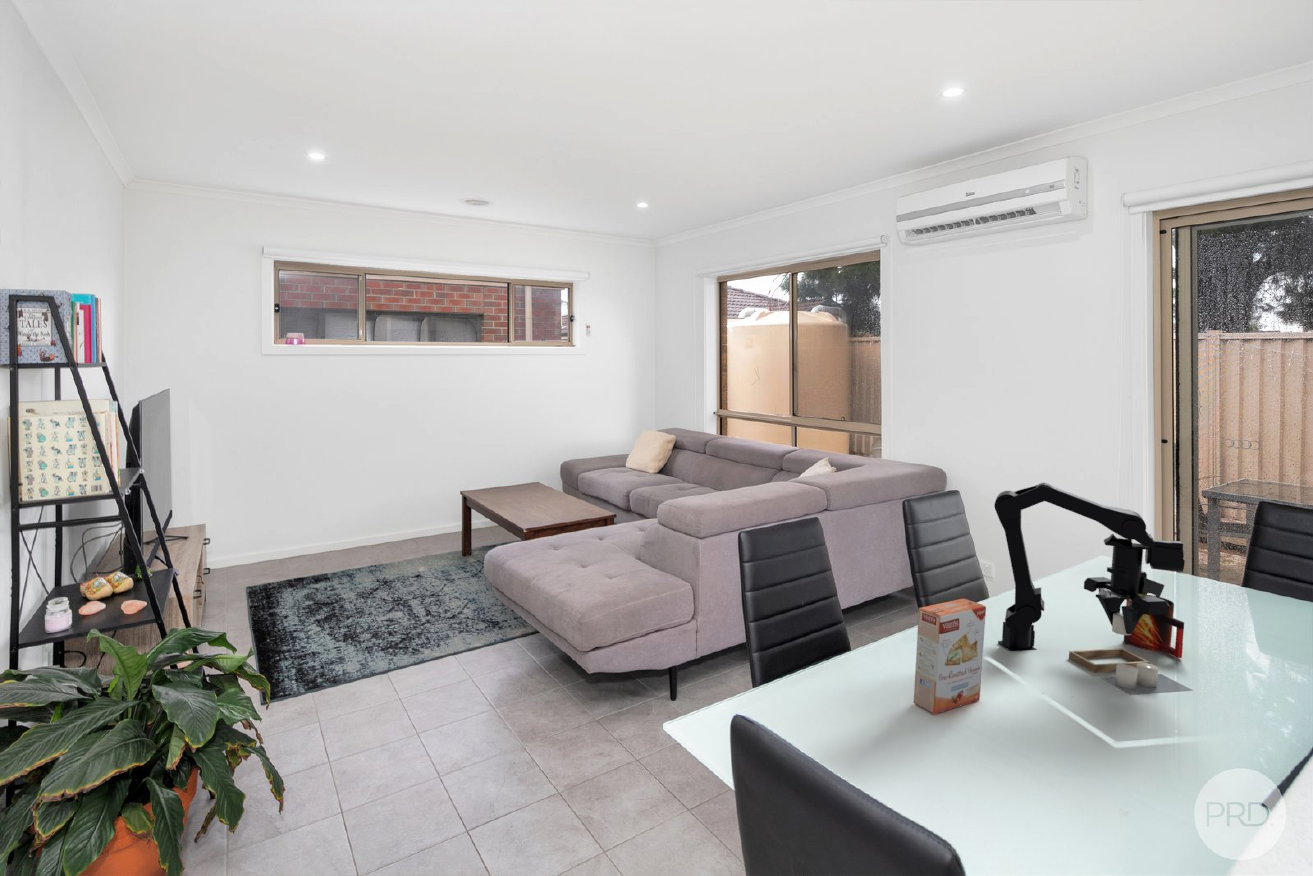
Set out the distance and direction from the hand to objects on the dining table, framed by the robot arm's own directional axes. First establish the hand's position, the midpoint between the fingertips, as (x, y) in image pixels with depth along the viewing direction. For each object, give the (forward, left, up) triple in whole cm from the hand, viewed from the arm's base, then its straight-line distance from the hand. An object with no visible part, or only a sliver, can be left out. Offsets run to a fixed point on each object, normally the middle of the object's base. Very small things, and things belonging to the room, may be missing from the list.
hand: (1121, 630), depth 160 cm
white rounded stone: (-8, -11, -8) cm, 15 cm away
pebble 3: (-3, -11, -8) cm, 13 cm away
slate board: (-3, -11, -9) cm, 14 cm away
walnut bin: (-3, 0, -9) cm, 9 cm away
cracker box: (-50, -11, -9) cm, 52 cm away
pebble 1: (0, 0, 0) cm, 0 cm away
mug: (+17, +8, -9) cm, 21 cm away
